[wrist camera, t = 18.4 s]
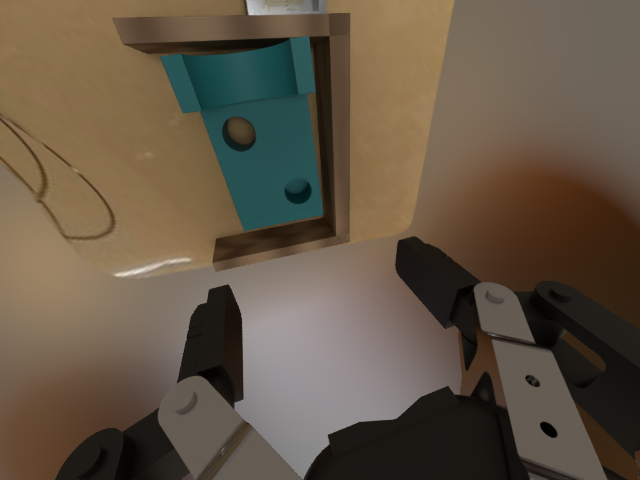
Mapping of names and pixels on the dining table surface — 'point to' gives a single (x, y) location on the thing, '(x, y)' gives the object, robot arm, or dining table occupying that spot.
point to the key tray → (285, 8)
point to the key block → (282, 2)
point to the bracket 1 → (332, 107)
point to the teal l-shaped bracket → (257, 126)
